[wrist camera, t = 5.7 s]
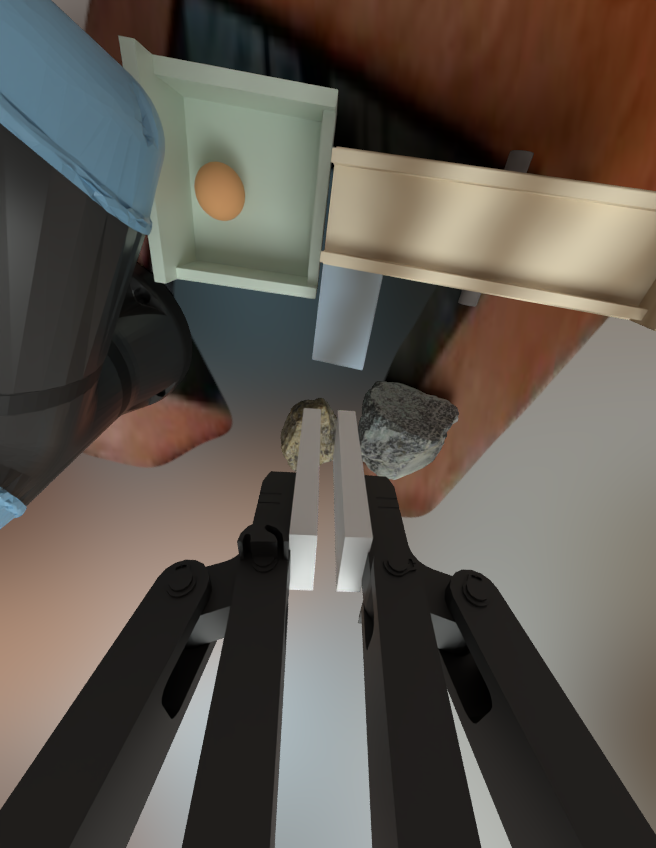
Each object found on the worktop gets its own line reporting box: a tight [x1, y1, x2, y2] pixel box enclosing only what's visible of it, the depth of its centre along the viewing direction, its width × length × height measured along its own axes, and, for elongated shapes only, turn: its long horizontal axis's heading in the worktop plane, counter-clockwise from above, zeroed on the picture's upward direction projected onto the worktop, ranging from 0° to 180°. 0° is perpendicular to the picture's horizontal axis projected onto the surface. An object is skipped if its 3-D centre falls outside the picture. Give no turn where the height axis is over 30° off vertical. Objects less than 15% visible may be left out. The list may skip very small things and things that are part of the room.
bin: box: [118, 35, 338, 299], centre depth 23 cm, size 12×12×7 cm
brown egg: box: [194, 162, 245, 221], centre depth 24 cm, size 4×4×4 cm
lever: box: [312, 147, 656, 370], centre depth 20 cm, size 20×14×4 cm
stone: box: [358, 381, 459, 480], centre depth 34 cm, size 10×10×10 cm
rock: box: [281, 398, 337, 471], centre depth 37 cm, size 7×8×4 cm
